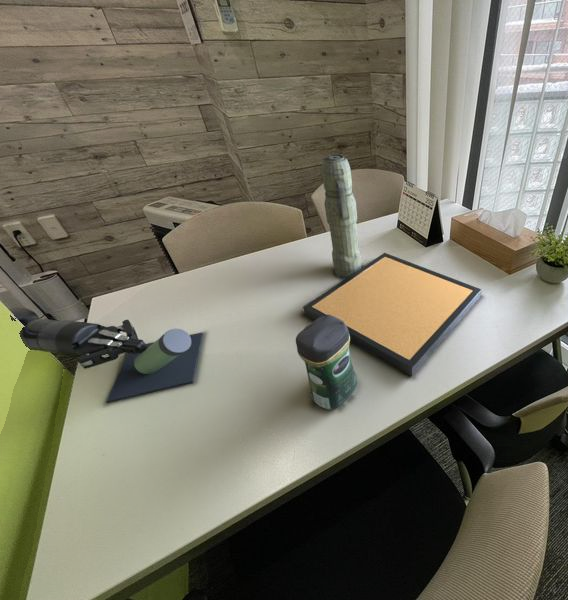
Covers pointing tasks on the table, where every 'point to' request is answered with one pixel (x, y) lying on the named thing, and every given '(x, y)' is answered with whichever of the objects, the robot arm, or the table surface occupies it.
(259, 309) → the table surface
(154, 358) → the canister
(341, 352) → the coffee jar
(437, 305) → the cork board
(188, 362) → the mat
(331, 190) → the thermos
